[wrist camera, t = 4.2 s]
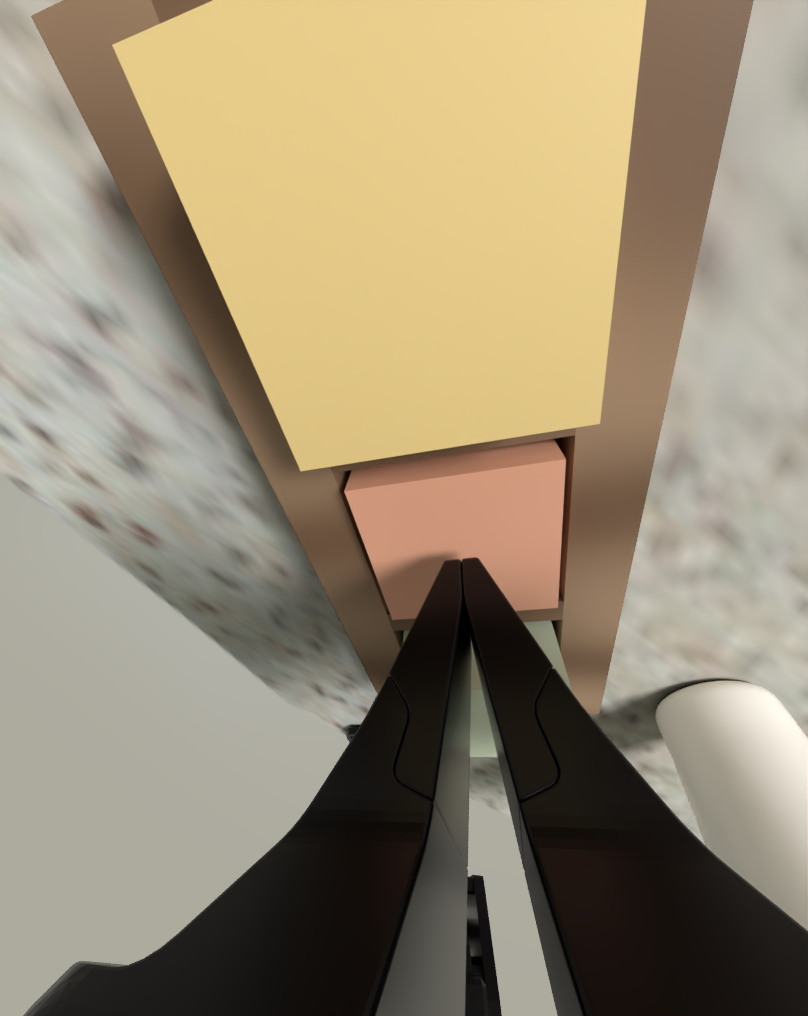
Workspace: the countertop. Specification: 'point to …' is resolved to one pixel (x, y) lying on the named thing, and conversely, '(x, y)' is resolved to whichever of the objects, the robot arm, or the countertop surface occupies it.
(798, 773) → the white tall cylinder
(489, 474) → the terracotta key
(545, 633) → the sage key
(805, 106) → the countertop surface
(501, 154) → the ochre key
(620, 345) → the brown wooden slotted tray
